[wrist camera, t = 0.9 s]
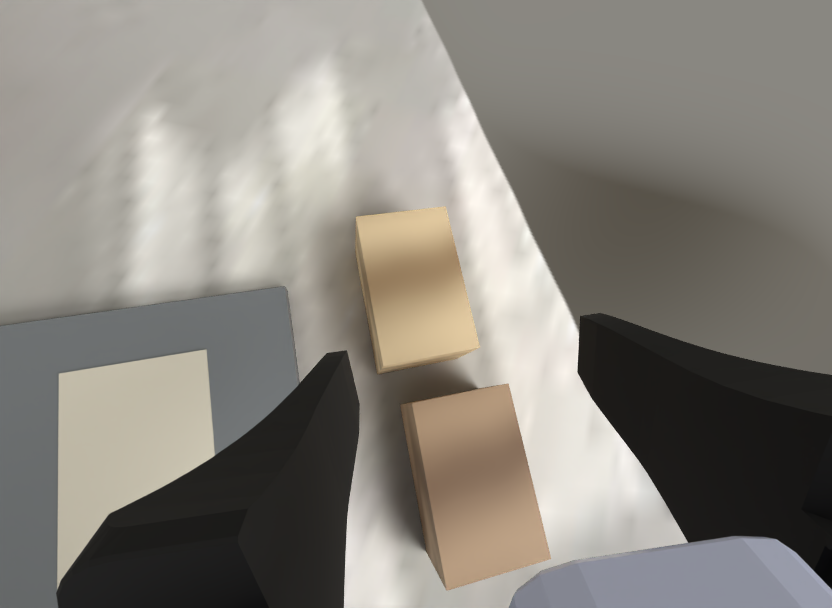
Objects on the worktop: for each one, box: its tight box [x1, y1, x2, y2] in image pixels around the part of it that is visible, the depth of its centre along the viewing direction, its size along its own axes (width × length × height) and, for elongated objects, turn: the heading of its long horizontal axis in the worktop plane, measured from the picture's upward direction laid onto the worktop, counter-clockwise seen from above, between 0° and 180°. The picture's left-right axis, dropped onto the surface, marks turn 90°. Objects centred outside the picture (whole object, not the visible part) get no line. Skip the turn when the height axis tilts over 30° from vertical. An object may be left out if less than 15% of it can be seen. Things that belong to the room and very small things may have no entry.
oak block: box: [355, 206, 480, 374], centre depth 23 cm, size 8×5×5 cm, turn 11°
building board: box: [0, 286, 300, 608], centre depth 20 cm, size 16×16×1 cm
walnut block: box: [400, 384, 551, 590], centre depth 21 cm, size 8×5×5 cm, turn 11°
